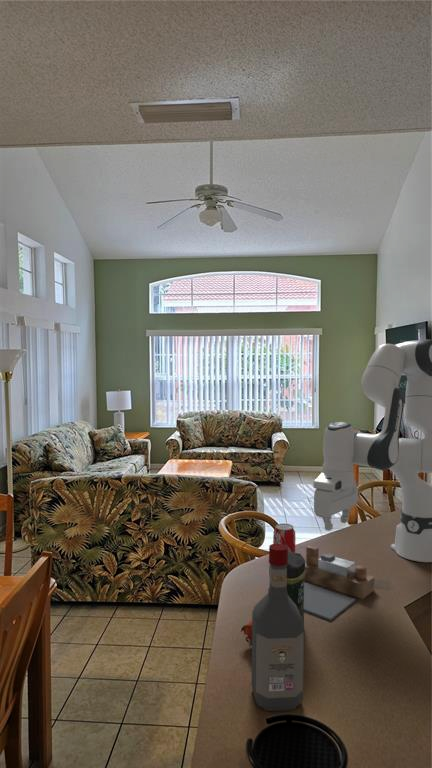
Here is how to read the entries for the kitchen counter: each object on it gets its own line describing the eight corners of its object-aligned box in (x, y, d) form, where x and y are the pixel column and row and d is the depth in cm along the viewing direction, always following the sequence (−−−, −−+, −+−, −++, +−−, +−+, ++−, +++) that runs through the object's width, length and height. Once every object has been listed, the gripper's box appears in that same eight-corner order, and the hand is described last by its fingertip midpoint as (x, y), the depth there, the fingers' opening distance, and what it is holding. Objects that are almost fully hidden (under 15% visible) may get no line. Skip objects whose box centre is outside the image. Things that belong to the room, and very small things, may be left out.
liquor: (305, 711, 99) (307, 555, 97) (257, 713, 98) (258, 556, 96) (294, 680, 108) (296, 537, 106) (250, 682, 107) (251, 539, 105)
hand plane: (300, 578, 156) (300, 549, 156) (312, 571, 162) (312, 542, 161) (363, 599, 143) (363, 567, 143) (373, 590, 149) (374, 559, 148)
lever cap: (318, 569, 153) (318, 556, 153) (326, 564, 157) (326, 551, 157) (346, 578, 148) (346, 564, 147) (354, 572, 151) (354, 559, 151)
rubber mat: (298, 582, 154) (298, 580, 154) (355, 601, 142) (355, 599, 142) (271, 598, 143) (271, 596, 143) (330, 621, 132) (330, 618, 132)
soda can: (294, 568, 164) (295, 530, 163) (271, 566, 165) (272, 529, 164) (295, 559, 171) (296, 523, 170) (274, 557, 172) (274, 522, 171)
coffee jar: (295, 644, 121) (296, 566, 120) (263, 635, 125) (264, 559, 124) (308, 625, 130) (309, 552, 128) (278, 617, 133) (279, 546, 132)
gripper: (344, 471, 161) (343, 516, 161) (310, 482, 145) (309, 531, 146) (363, 474, 157) (362, 520, 157) (330, 486, 141) (329, 537, 142)
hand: (336, 526), depth 151 cm, fingers open, 8 cm apart
